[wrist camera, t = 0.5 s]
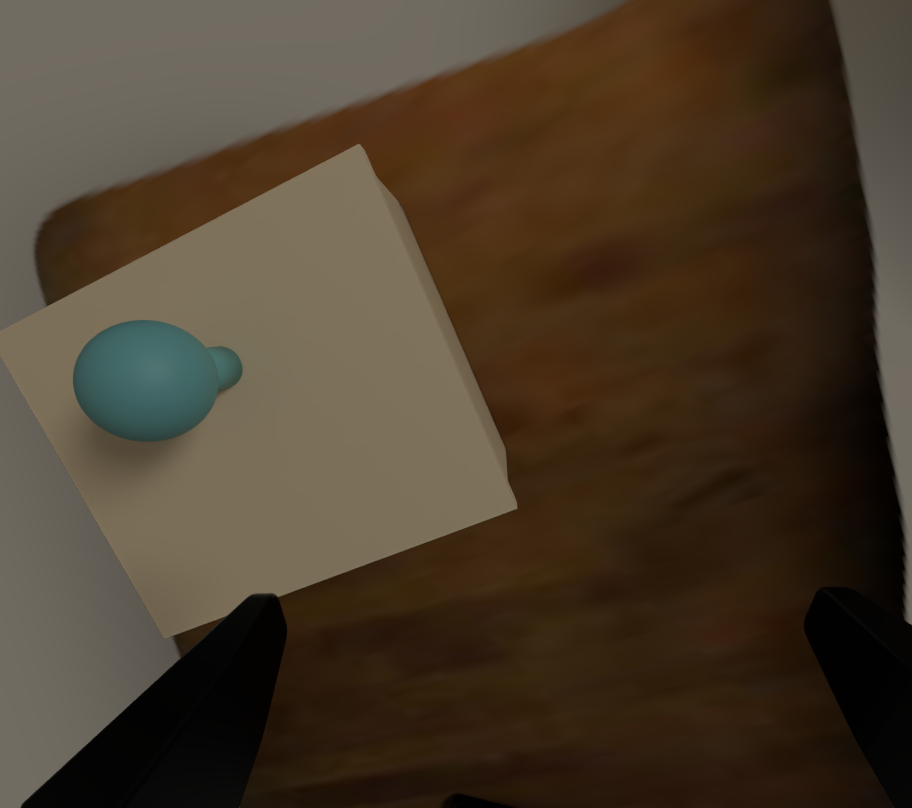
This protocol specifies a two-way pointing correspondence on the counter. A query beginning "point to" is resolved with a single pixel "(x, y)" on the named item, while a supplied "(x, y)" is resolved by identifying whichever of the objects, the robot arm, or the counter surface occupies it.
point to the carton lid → (261, 401)
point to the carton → (446, 326)
